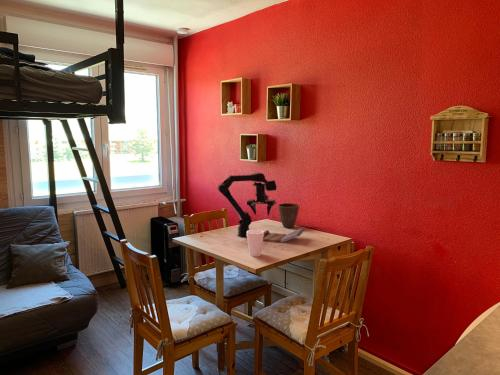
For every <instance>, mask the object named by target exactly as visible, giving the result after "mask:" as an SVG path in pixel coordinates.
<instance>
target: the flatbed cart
mask: <svg viewBox="0 0 500 375" xmlns="http://www.w3.org/2000/svg"><path fill="white" fill-rule="evenodd" d="M286 234H287V233H279V232H278V233H276V232H270V230H269V229H267V230H265V231H264V236H263V242H269V243H279V244H280V243H281V241H280V240H281V239H282V238H283V237H284V236H285V235H286Z"/></svg>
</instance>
